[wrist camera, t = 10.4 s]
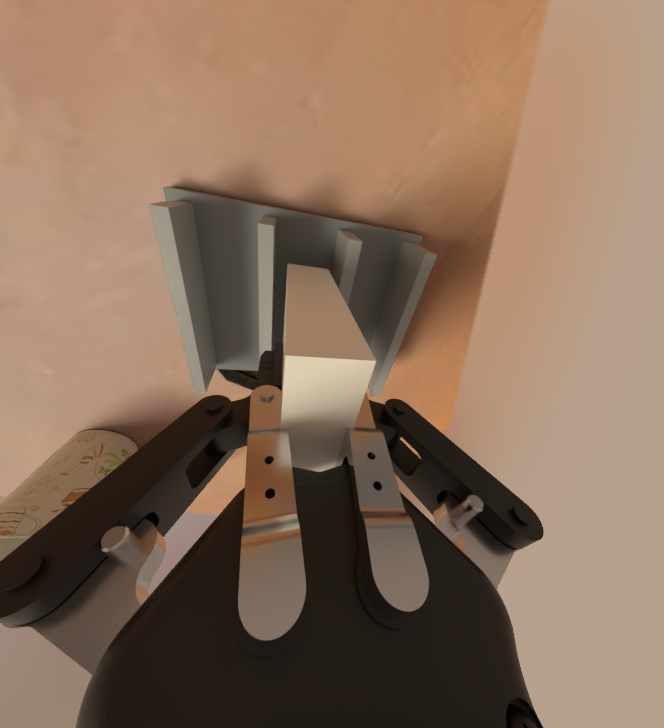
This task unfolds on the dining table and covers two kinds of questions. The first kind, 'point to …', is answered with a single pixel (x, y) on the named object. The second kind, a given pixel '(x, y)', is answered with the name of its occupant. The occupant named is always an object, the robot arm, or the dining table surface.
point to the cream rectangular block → (320, 368)
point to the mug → (60, 483)
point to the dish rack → (278, 277)
